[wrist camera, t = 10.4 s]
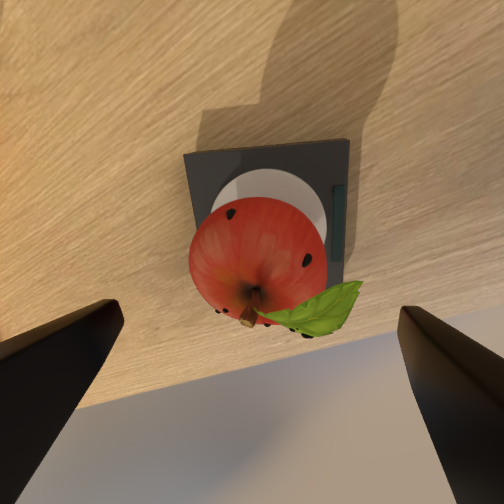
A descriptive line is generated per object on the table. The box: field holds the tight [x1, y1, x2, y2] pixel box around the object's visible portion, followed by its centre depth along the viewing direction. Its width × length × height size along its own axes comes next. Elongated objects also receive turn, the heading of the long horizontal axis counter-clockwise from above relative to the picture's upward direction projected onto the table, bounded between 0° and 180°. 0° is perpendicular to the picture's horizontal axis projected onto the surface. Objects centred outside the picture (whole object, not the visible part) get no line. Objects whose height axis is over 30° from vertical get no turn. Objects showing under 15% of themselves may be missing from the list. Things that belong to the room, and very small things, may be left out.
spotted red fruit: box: [189, 197, 364, 338], centre depth 13 cm, size 8×7×10 cm
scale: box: [183, 138, 350, 290], centre depth 19 cm, size 10×10×3 cm
